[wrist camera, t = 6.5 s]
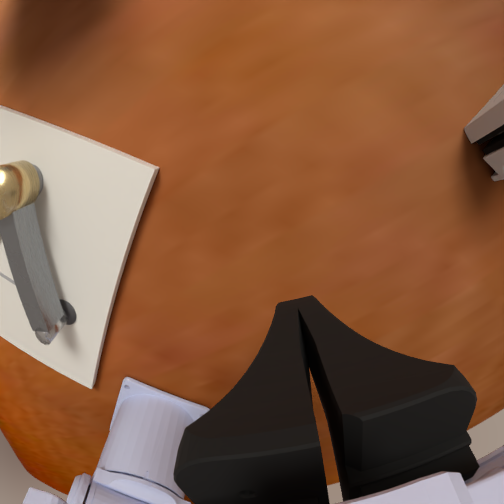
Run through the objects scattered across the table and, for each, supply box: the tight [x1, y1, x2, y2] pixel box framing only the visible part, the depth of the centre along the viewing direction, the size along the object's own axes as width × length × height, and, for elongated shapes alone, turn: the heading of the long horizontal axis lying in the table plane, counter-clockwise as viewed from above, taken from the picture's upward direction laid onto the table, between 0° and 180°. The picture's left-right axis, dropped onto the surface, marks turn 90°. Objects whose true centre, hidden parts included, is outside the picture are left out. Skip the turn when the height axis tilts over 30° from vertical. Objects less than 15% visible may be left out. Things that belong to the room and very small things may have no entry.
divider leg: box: [0, 160, 68, 345], centre depth 17 cm, size 12×3×3 cm, turn 4°
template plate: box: [0, 105, 159, 389], centre depth 19 cm, size 20×17×2 cm
